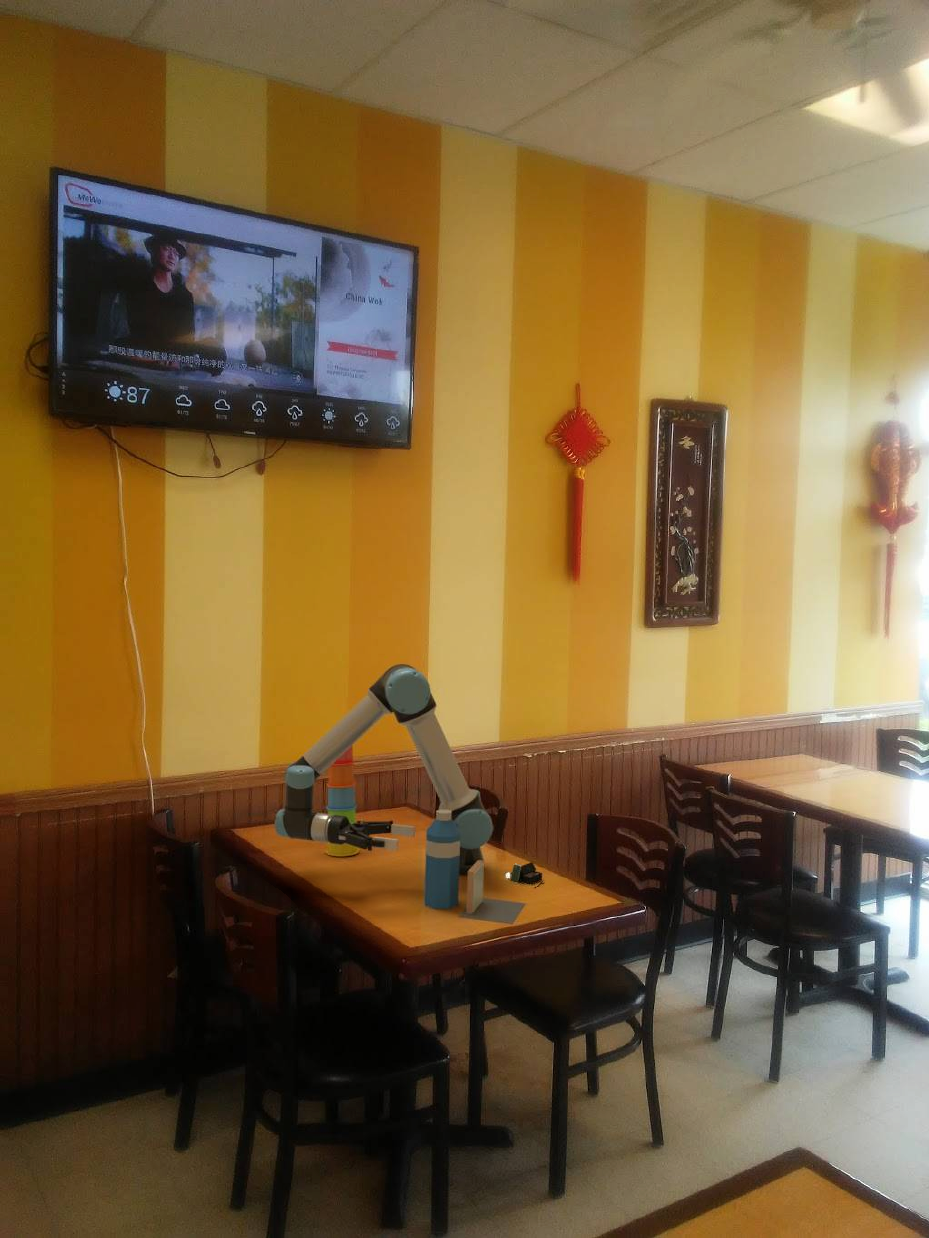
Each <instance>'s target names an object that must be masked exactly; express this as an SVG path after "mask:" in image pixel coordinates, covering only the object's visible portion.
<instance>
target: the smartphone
mask: <svg viewBox="0 0 929 1238" xmlns="http://www.w3.org/2000/svg"><path fill="white" fill-rule="evenodd" d="M535 866H536V865H535V864H534V862H533V861H532V862H531V861H530V862H527V863H526V864H523V865H519V864H517V863H514V864H513V866H512V871H511V872H510V871H509V872H507V873H505V878H506V879H508V878H509V879H510V880H509V881H510V882H511V881H513V882H512V883H514V882H517V883H516V884H518V883H521V882H522V883H521V885H522V886H521V887H524V885H523V884H525V883H526V884H525V885H528V884H529V886H531V885H533V883H534V884H536V883H538V881H539V883H538V884H537V885H538V886H537V885H536V886H537V888H538V887H540V886H542V885H544V884H545V882H544V883H542V882H543V881H542V880H543V872H539V871H536V870H537V868H536V867H535ZM540 880H541V881H540ZM535 882H536V883H535ZM530 884H531V885H530ZM536 886H534V889H537V888H536Z"/></svg>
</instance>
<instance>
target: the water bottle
mask: <svg viewBox="0 0 929 1238" xmlns="http://www.w3.org/2000/svg"><path fill="white" fill-rule="evenodd" d="M435 812H436V813H435V814H436V817H435V819H434V820H433V821H432V823H431V824H430V825H429V826H428V828H427V829H426V832H425V833H426V835H425V839H426V840H425V865H424V866H425V869H424V870H425V872H424V898H423V899H424V907H428V908H430V909H433V910H451V909H454V908H456V907H458V906H459V890H460V889H459V888H460V887H459V886H460V885H459V884H460V875H459V860H460V831H459V829H458V828H457V826H456V825H455V823H454V822H453V820H452V819H451V811H450V810H439V809H438V810H435Z"/></svg>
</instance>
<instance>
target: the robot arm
mask: <svg viewBox="0 0 929 1238" xmlns="http://www.w3.org/2000/svg"><path fill="white" fill-rule="evenodd" d="M436 708H437V703H436V701H435V698H434V697H433V694H432V692H431V685H430V683H429V681H428V679H427V677H426V676H425V674H423V673H421V672H420V671H419V670H417V669H416V668H415V667H414V666H412V665H409V664H407V663H406V664H405V663H399V664H395V665H394V664H393V666H391V667H389V668H388V669H387V670H385V671H384V673H383V674H382V675H381V676H380V677H378V679H377V680H376V681H375V682H373V684H372V685H370V687H369V688H368V689H367V695H366V696H364V698H362V699H361V700H360V701H359V702H358V703H357V704H356V705H355V706H354V707H352V709H350V710H349V712H348V713H346V714H345V715H344V716H343V717H342V718H341V719H340V720H339V721H338V722H337V723H336V724H335V725H333V726H332V727H331V728H330V729H329V730H328V732H326V733H325V734H324V735H323V736H322V737H321V738H320V739H319V740H318V741H316V742H315V743H314V745H313V746H312V747H310V749H308V750H306V752H305V753H304V754H303V755H302V756H301V757H299V759H297V760H296V761H294V762H291V763H290V764H289V765H288V766H287V767H286V769H285V771H284V777H283V778H284V779H283V780H284V785H285V796H284V797H285V800H284V802H285V803H284V804H285V805H284V808H281V809H279V810H278V811H277V813H276V815H275V821H274V829H275V830H274V831H275V833H276V834H277V835H278V836H280V837H284V838H290V839H292V840H293V839H294V840H303V841H310V842H311V841H312V842H318V843H319V844H321V845H322V844H323V843H326V844H328V842H330V843H332V844H340V845H342V844H344V843H347V844H350V845H353V846H355V847H357V848H359V849H363V850H367V851H368V852H369V851H370V852H371V851H373V849H381V850H389V851H398V850H399V839H397V838H388V837H381V836H373V837H371V836H370V835H381V834H390V835H391V836H392V835H393V836H398V837H399V836H401V837H406V838H407V837H408V838H415V835H416V827H415V826H411V825H405V824H397V823H394V821H393V820H389V821H388V820H387V821H385V820H382V821H381V820H380V821H377V820H376V821H375V820H374V821H370V820H369V821H367V820H366V821H364V820H356V823H354V824H350V823H349V820H348V818H347V817H346V816H339V815H334V816H333V815H332V814H328V813H324V812H323V813H322V812H314V811H313V810H314V791H315V790H314V789H315V781H316V780H317V779H319V778H320V776H321V775H322V774H323V773H325V771H326V770H328V769H329V767H330V766H331V765H332V764H333V763H334V762H335V761H336V760H337V759H338V758H339V757H340V756H341V755H342V754H343V753H345V752H346V751H347V750H348V749H349V748H350V747H351V746H352V747H353V746H354V744H355V743H356V742H358V741H359V740H360V739H361V738H362V737H363V736H364V735H365V734H366V733H368V731H370V729H371V728H372V727H373V726H375V724H377V723H378V722H379V721H380V720H381V719H382V718H383V717H384V716H385V715H391V714H393V715H394V716H395V719H396V721H397V722H398V724H400V725H402V726H404V727H405V728H406V729H407V731H408V733H409V735H410V738H411V740H412V743H414V747H415V749H416V751H417V753H418V754H419V757H420V759H421V761H422V763H423V765H424V768H425V770H426V772H427V775H428V776H429V778H430V781H431V783H432V785H433V787H434V789H435V792H436V794H437V796H438V798H439V806H438V810H450V811H451V819H452V820H453V822H454V823H455V825H456V826H457V828H458V829H459V831H460V860H459V876H461V875H462V876H464V875H468V871H469V869H470V868H471V867H472V866H473V865H474V864H475V863H476V862H477V861H478V860H481V861H483V863H484V864H485V859H484V855H483V852H482V850H481V847H483V846H484V845H485V844H487V842H488V841H489V839H491V837H492V834H493V828H494V827H493V821H492V820H493V819H492V817H491V815H490V814H488V812H487V811H486V809H485V807H484V805H483V802H482V800H481V792H480V791H479V790H477V789H474V788H473V789H471V788H470V787H469V786H468V783H467V781H466V779H465V777H464V773H462V770H461V768H460V766H459V764H458V762H457V760H456V757H455V755H454V753H453V751H452V748H451V746H450V744H449V741H448V740H447V738H446V735H445V733H444V731H443V729H442V727H441V725H440V722H439V721H438V718H437V716H436V714H435V711H436Z"/></svg>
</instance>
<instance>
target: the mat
mask: <svg viewBox="0 0 929 1238" xmlns="http://www.w3.org/2000/svg"><path fill="white" fill-rule="evenodd" d="M526 905H527V903H526V902H518V901H510V900H503V899H502V900H501V899H495V898H488V897H483V901H482V902H481V904H480V905H479V906H478V907H477V909H476V910H475V911H474V912H473V913H472V914H467V906H466V907H465V908H464V909H463V911H462V912H461V913H460V914H459V915H458V918H463V919H469V920H470V919H471V920H477V921H486V922H492V923H499V924H500V923H501V924H509V925H513V924H514V922H516V919H517V918H518V917H519V915H520V914H521V913H522V910H524V908H525V906H526Z"/></svg>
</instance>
